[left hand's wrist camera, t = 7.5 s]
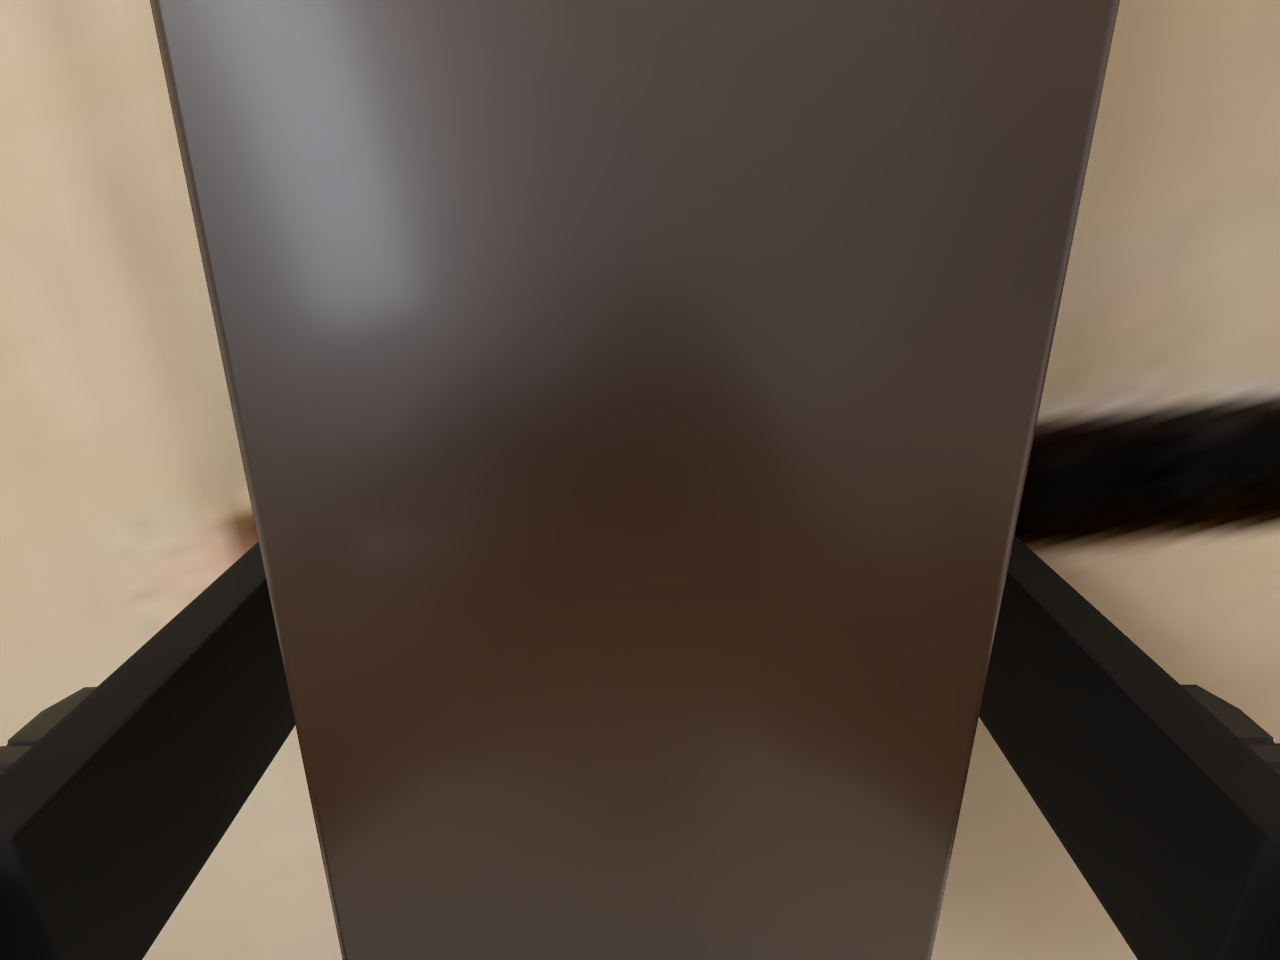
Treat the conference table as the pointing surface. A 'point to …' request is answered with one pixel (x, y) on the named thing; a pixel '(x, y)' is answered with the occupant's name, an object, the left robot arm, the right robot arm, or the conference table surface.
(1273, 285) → the conference table surface
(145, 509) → the conference table surface
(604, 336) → the walnut box
